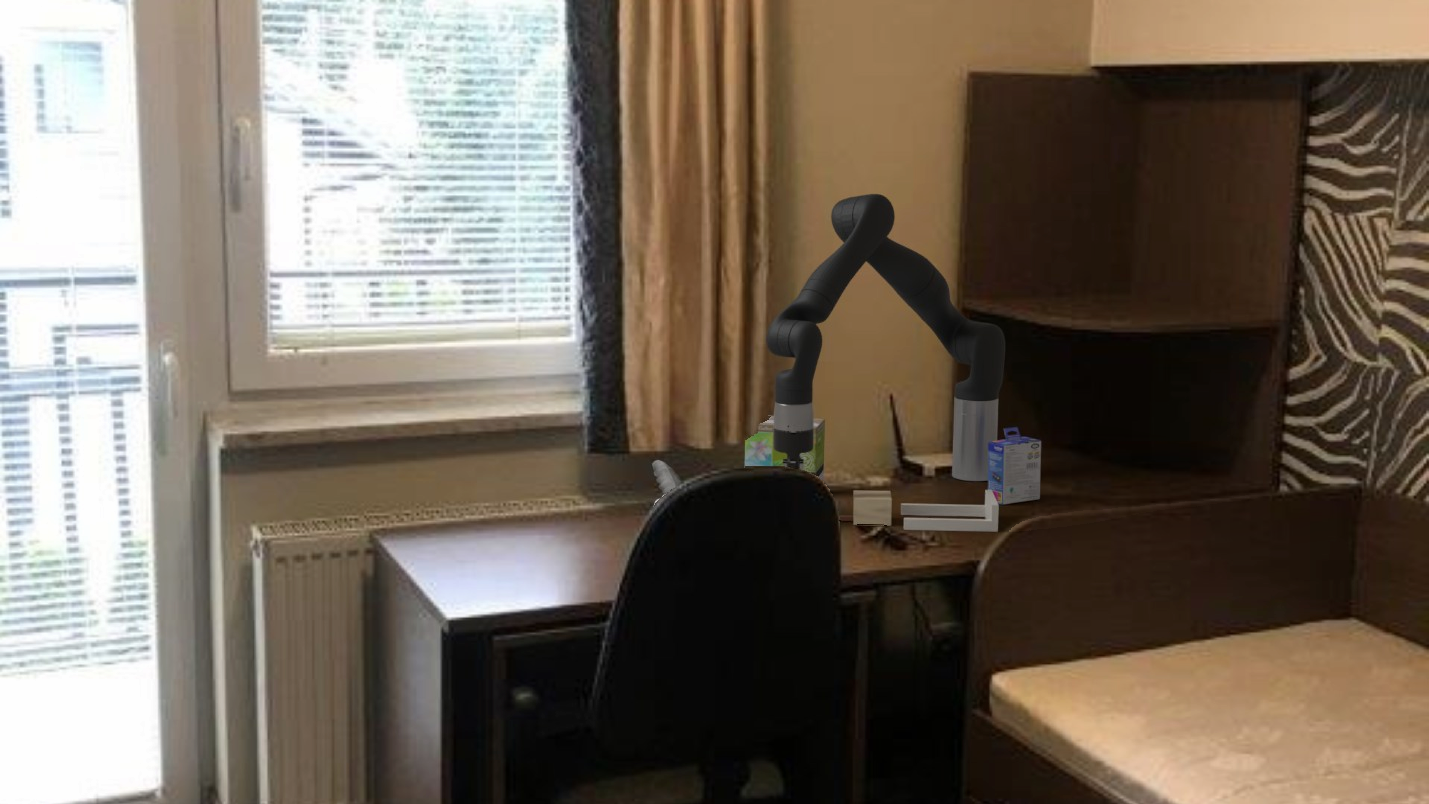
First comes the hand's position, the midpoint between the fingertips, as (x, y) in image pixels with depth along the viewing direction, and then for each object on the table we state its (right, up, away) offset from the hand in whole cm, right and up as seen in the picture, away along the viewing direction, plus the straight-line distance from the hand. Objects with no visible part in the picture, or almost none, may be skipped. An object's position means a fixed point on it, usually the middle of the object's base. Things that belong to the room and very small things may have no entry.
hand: (793, 513), depth 293 cm
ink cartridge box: (+45, +1, +16) cm, 48 cm away
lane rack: (+29, -1, -2) cm, 29 cm away
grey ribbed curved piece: (-24, -1, +2) cm, 24 cm away
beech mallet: (+8, -1, 0) cm, 8 cm away
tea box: (-1, +3, +25) cm, 25 cm away
